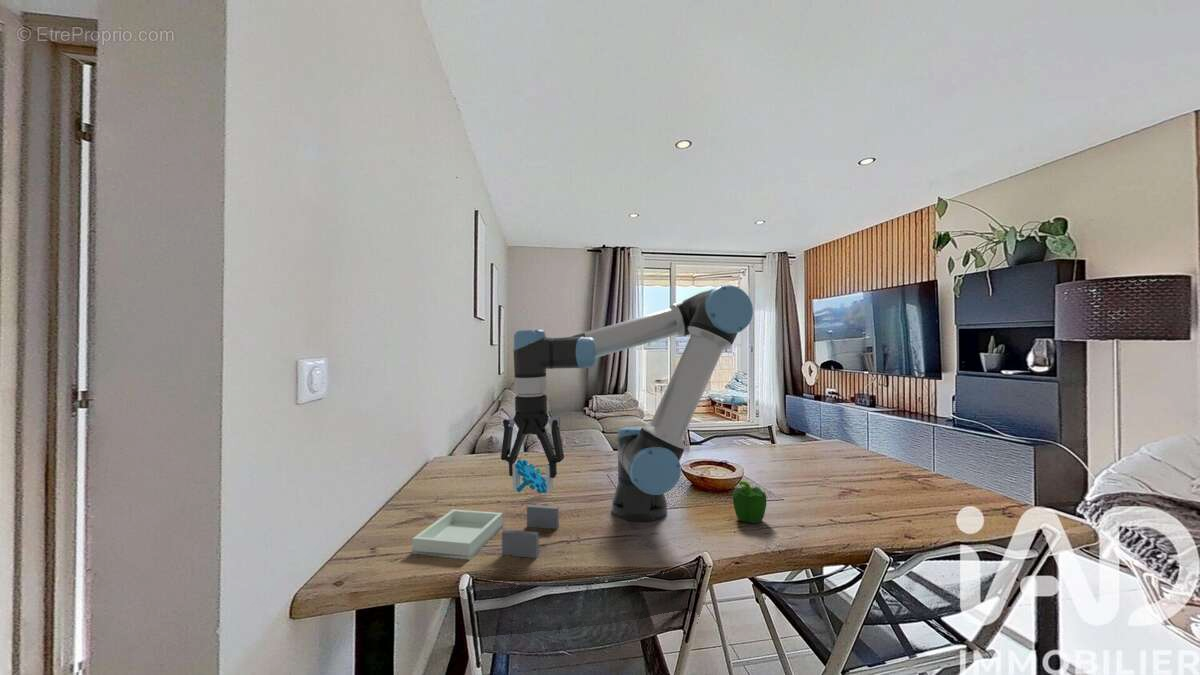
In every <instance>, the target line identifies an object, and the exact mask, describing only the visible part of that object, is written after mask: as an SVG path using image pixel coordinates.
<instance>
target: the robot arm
mask: <svg viewBox="0 0 1200 675" xmlns="http://www.w3.org/2000/svg"><path fill="white" fill-rule="evenodd" d="M753 315H754V308H753V303H752V300H751V299H750V297H749V295H748V293H747V292H745V291H744V290H743V289H741V288H740V287H738V286H735V285H729V284H727V285H724V284H722V285H721V284H720V285H718V286H715V287H713V288H711V289H708V290H704V291H700V292H698V293H696V294H695V295H692V296H691V297H688V298H686V299H683V300H682V301H678V302H676V303H675V302H674V303H672V304H671V305H670V306H669V308H667V309H663V310H661V311H656V312H652V313H649V314H645V315H642V316H639V317H635V318H632V319H627V320H624V321H621V322H617V323H613V324H610V325H607V326H604V327H600V328H595V329H592V330H588V331H585V332H583V333H579V334H574V335H571V336H566V337H547V335H546V331H545V330H543V329H521V330H520V329H519V330H517V331H515V333H514V334H513V335H514V336H513V349H512V352H513V368H514V369H513V370H514V371H513V372H514V393H515V395H516V396H514V411H515V415H514V416H513V417H507V418H505V419H503V420H502V424H503V430H504V431H503V436H502V437H503V438H502V444H501V446H502V447H501V454H500V459H501V460H502V461H506V462H507V463H508V473H509V477H512V492H514V493H515V492H518V491H517V488H518V487H519V486H520V485H521V475H519V474H518V473H517V470H518V468H516V467H515V465H516V464H517V461H518V460H519V459H518V456H519V454H520V451H521V449H522V445H523V443H524V440H525V437H526V436H527V435H529V434H531V435H535V436H536V437H537V439H538V440H539V442H540V445H541V447H542V450H543V452H544V455H545V457H546V459H547V461H548V463H547V464H545V475H546V476H545V478H546V482H545V483H546V488H547V492H546V494H551V492H552V491H554V479H555V478H556V477H557V475H558V474H557V471H558V470H557V469H558V468H557V463H561V462H562V461H563V460H564V459H565V454H564V449H563V448H564V447H563V443H562V442H563V441H562V438H561V432H560V431H561V430H560V426H561V419H560V418H551V417H550V416H549V414H548V397H547V395H546V394H545V393H547V370H553V369H556V370H557V369H585V368H586V369H587V368H593V367H594V366H595V364H596V360H597V358H600V357H603V356H604V357H605V356H607V355H610V354H614V353H617V352H621V351H625V350H629V349H632V348H636V347H639V346H643V345H646V344H650V343H653V342H657V341H659V340H664V339H667V338H670V337H674V336H678V337H680V338H684V337H687V336H690V337H689V339H688V340H687V343H686V345H685V348H684V350H683V352H682V354H681V357H680V358H679V361H678V363H677V365H676V367H675V369H674V370H673V371H674V372H673V374H672V376H671V378H670V380H669V382H668V384H667V387H666V389H665V391H664V393H663V395H662V397H661V400H660V402H659V403H658V406H657V408H656V411H655V413H654V415H653V417H652V419H651V422H650V423H648V424H645V425H643V426H625V427H622V428H621V427H620V428H619V429H618V431H617V438H616V441H617V485H616V489H615V491H614V495H613V498H612V502H611V511H612V513H613V515H615V516H616V517H617V518H620V519H623V520H626V521H631V522H632V521H633V522H650V521H655V520H659V519H662V518H664V517H665V516H666V515H667V513H668V502H667V499H666V497H665V494H666V493H668V492H670V491H671V490H672V489H673V488H674V487H676V485H677V484H678V482H679V480H680V477H681V473H682V469H681V467H682V466H681V463H680V460H681V458H682V456H683V454H684V452H685V450H686V446H685V442H684V436H685V435H686V432H687V430H688V428H689V425H690V423H691V421H692V419H693V416H694V414H695V412H696V410H697V408H698V406H699V403H700V401H701V399H702V397H703V394H704V392H705V390H706V388H707V386H708V384H709V382H710V379H711V378H712V375H713V372H714V371H715V368H716V367H717V364H718V361H719V360H720V358H721V355H722V352H723V351H724V350H727V349H730V348H731V347H733V346H732V345H733V344H734V342H735V340H736V338H737V335H738V333H740V332H742V331H744V329H746V328H747V327H748V326H749V325H750V323H751V321H752V319H753ZM515 424H516V426H517V428H518V430H517V433H516V437H515V440H514V443H513V445H512V439H513V431H514V427H515ZM547 425H549V428H550V429H551V436H552V438H551V439H552V442H553V443H552V444H553V446H552V444H551V442H550V439H549V437H548V433H547V429H546V428H545V427H546V426H547ZM512 446H513V447H512Z"/></svg>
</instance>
